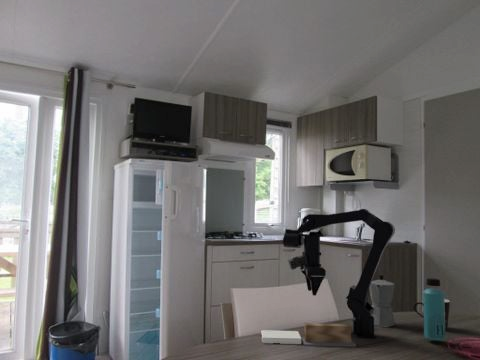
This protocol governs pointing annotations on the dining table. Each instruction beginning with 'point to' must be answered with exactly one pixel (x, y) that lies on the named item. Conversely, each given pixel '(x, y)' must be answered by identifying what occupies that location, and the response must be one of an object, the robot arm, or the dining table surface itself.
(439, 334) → the beverage bottle
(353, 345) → the mat
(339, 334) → the tan wooden block
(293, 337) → the tile
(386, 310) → the coffeepot
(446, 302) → the coffee mug
